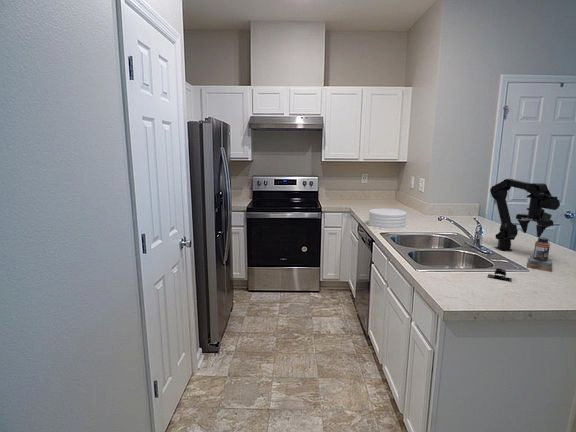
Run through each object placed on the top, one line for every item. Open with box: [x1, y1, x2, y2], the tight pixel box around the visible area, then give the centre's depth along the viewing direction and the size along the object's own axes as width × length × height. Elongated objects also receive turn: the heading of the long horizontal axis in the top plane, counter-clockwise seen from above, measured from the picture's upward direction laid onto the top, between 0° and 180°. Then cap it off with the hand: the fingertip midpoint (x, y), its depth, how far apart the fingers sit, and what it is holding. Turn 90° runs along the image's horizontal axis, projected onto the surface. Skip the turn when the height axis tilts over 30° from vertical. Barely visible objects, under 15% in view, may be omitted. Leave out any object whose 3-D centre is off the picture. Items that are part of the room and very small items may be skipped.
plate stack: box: [368, 207, 408, 229], centre depth 258 cm, size 28×28×12 cm
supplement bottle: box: [532, 236, 551, 261], centre depth 166 cm, size 6×6×11 cm
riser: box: [526, 255, 554, 273], centre depth 168 cm, size 10×10×4 cm
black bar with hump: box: [487, 267, 513, 283], centre depth 154 cm, size 12×7×5 cm, turn 54°
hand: (531, 235), depth 180 cm, fingers open, 9 cm apart
